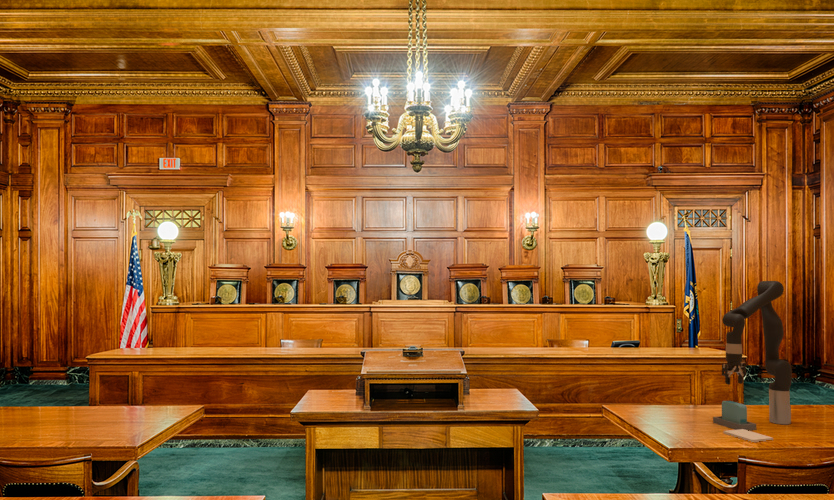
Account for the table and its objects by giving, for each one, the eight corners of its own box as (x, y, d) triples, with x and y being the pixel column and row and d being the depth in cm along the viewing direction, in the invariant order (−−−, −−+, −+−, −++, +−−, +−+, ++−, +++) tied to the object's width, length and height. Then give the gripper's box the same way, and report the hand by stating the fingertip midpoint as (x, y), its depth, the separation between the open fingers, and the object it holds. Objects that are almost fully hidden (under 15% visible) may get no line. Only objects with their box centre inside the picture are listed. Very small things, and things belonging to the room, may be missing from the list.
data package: (747, 429, 287) (747, 405, 287) (739, 429, 286) (739, 405, 286) (728, 423, 299) (728, 400, 299) (721, 423, 297) (721, 400, 298)
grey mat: (743, 431, 282) (743, 429, 282) (773, 440, 267) (773, 437, 267) (723, 433, 278) (723, 430, 278) (752, 442, 263) (752, 439, 263)
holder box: (727, 421, 302) (727, 415, 302) (756, 429, 286) (756, 423, 286) (713, 422, 298) (713, 417, 299) (741, 431, 282) (741, 425, 283)
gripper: (737, 351, 300) (738, 382, 299) (717, 351, 295) (717, 383, 294) (750, 352, 293) (750, 384, 292) (729, 353, 288) (730, 386, 287)
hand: (734, 383), depth 293 cm, fingers open, 8 cm apart
